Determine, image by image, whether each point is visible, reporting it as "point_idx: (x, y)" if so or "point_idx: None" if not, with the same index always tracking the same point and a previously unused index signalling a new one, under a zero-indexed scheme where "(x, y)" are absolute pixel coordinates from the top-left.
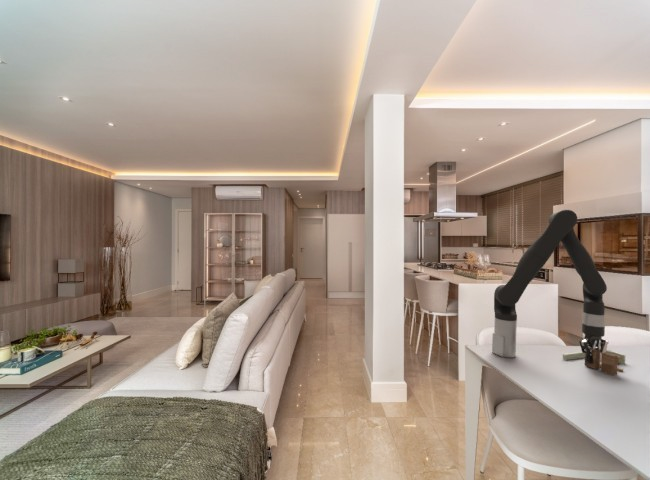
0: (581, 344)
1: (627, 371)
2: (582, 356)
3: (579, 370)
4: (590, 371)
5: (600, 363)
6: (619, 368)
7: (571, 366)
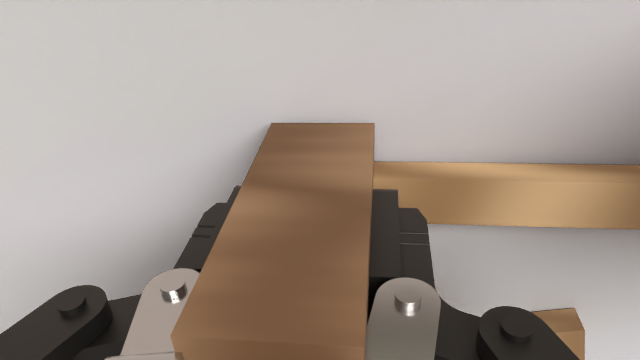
0: None
1: (631, 347)
2: None
3: (66, 191)
4: (178, 239)
5: (500, 211)
6: (566, 340)
7: (60, 83)
